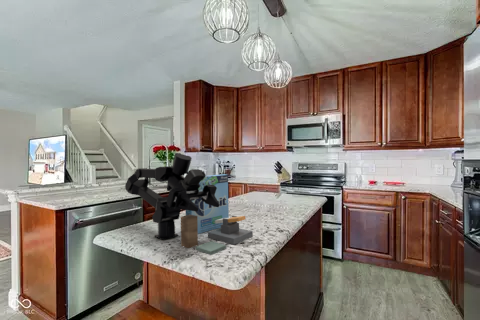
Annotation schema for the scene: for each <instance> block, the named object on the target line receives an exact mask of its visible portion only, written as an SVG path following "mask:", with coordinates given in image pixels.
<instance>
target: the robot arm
mask: <svg viewBox="0 0 480 320" xmlns="http://www.w3.org/2000/svg"><path fill="white" fill-rule="evenodd" d="M191 163H192V157H191V156H190V155H186V154H183V153H180V152H175V154H174V158H173V163H172V165H171V166H158V167H155V168H148V167H146V168H145V167H144V168H143V167H141V168H137V169H135V172H134V173H132V175H130V176H129V177H128V178H127V180H126V182H125V185H124V187H125V190H126V192H127V193H128V194H131V195H133V196H134V195H135V196H139V197H140V198H142V199H143V201H146V202H147V203H148V204H149V205H151V206H152V207H153V208H154V209H155V211H154V212H153V215H152V216H151V217H152V221H153V223H156V224H157V229H158V230H157V232H158V233H157V234H155V235H154V237H155V236H156V237H155V238H157V237H159V238H158V239H160V238H161V239H160V240H163V239H166V240H168V238H169V239H171V238H175V237H178V236H179V234H178V233H176V226H175V225H176V224H175V223H176V221H175V220H180V217H181V216H180V215H181V210H185V211H186V210H190V211H196V212H197V211H198V207H197V206H196V205H195V204H194V203H193V202H192V201H193V200H195V199H200V198H201V200H202V201H203V202H205V203H206V204H209V205H212V206H215V207H219V203H218V201H217V199H216V197H215V192H216V189H217V187H216V186H214V185H206V186H204V188H203V191H200V192H199V190H198V188H200V184H199V183H200V181H201V180H203V179H204V178H205V176H206V173H205V171H203V170H202V169H199V168H198V169H197V168H196V169H195V168H193V169H192V168H191V169H190V167H191ZM189 169H190V170H189ZM185 174H186V175H185ZM184 176H185V177H184ZM149 179H155V181H157V182H160V183H164V182H166V183H167V184H166V191H167V192H168V195H167V196H165V197H163V196H161V195H160V194H159V193H158V192H156V191H154V190H153V189H151V188H150V187H149V185H150V180H149Z"/></svg>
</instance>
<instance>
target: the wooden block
mask: <svg viewBox="0 0 480 320" xmlns="http://www.w3.org/2000/svg"><path fill="white" fill-rule="evenodd" d="M198 239H199V237H198V223H197V216H195V215H186V214H185V215H183V216H180V246H181V247H183V246H184V247H183V248H186V249H190V248H191V249H192V248H194V247H197V246H199V240H198Z"/></svg>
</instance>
